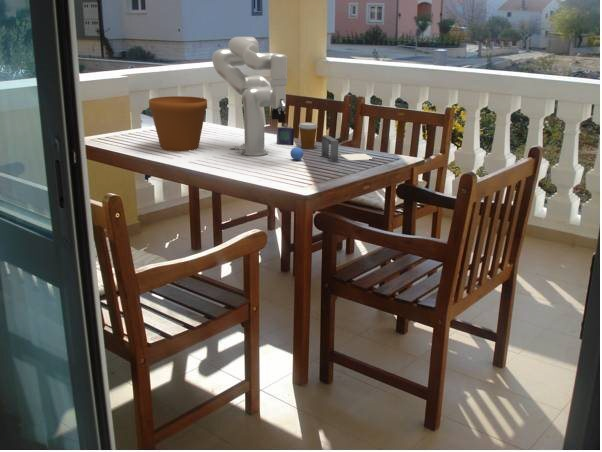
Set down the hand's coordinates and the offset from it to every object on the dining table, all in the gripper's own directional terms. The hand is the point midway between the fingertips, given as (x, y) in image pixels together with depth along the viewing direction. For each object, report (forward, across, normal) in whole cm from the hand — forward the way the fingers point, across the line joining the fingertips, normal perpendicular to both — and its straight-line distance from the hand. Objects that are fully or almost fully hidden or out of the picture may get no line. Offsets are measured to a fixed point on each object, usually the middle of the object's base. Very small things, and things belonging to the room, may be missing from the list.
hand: (278, 120), depth 315 cm
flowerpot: (+19, -41, -39) cm, 59 cm away
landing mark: (+18, +1, +39) cm, 43 cm away
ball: (+15, 0, +9) cm, 18 cm away
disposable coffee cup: (+19, -27, +24) cm, 41 cm away
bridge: (+18, +1, +25) cm, 31 cm away
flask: (+19, -38, +15) cm, 44 cm away
